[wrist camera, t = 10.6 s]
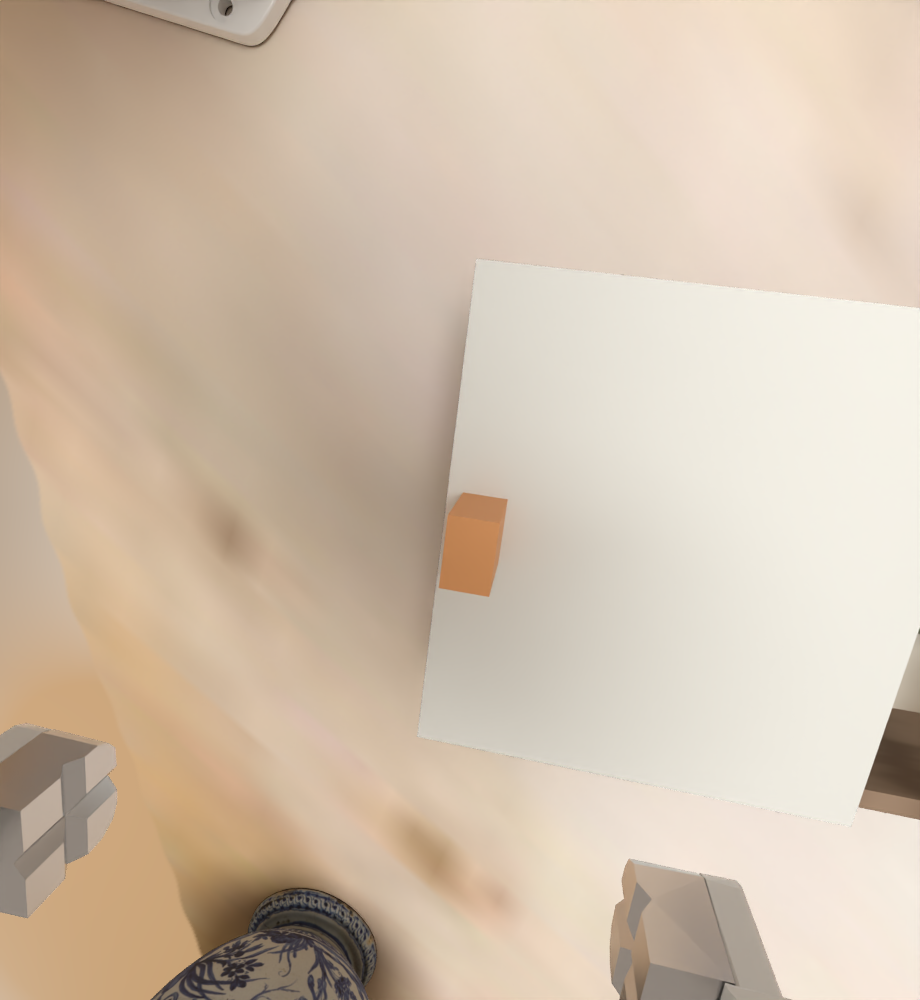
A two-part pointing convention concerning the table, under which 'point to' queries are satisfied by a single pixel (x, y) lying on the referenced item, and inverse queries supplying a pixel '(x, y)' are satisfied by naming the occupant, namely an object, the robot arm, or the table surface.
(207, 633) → the table surface
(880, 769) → the wooden box
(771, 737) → the box lid
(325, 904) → the decorative vase
